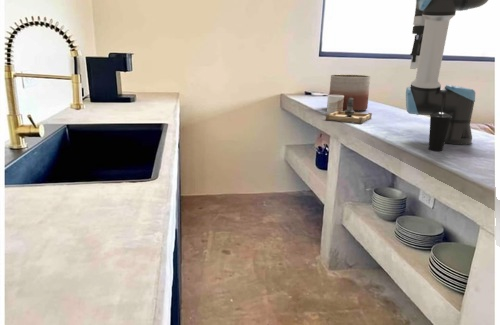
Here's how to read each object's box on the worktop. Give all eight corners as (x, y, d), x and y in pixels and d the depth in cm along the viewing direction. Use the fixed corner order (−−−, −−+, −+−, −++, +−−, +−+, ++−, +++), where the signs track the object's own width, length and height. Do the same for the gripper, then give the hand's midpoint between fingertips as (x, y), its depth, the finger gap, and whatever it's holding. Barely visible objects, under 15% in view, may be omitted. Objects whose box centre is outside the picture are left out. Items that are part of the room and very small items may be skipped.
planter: (361, 113, 231) (364, 77, 224) (322, 110, 243) (324, 75, 237) (371, 108, 252) (374, 75, 245) (335, 105, 264) (337, 74, 258)
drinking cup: (423, 150, 144) (430, 98, 138) (426, 146, 150) (434, 96, 144) (444, 153, 140) (453, 100, 134) (447, 149, 146) (456, 98, 140)
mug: (322, 113, 231) (323, 95, 228) (334, 111, 238) (335, 93, 235) (336, 115, 223) (338, 96, 220) (347, 113, 231) (349, 95, 228)
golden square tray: (361, 123, 197) (362, 117, 196) (325, 119, 207) (326, 114, 206) (371, 118, 213) (371, 113, 212) (337, 115, 223) (338, 109, 222)
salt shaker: (353, 118, 206) (355, 97, 203) (343, 117, 208) (344, 96, 205) (354, 117, 211) (356, 95, 208) (344, 116, 213) (346, 95, 210)
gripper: (425, 23, 176) (419, 69, 182) (432, 27, 196) (426, 68, 202) (408, 24, 180) (403, 68, 186) (417, 27, 200) (411, 67, 206)
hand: (415, 68), depth 194 cm, fingers open, 13 cm apart
